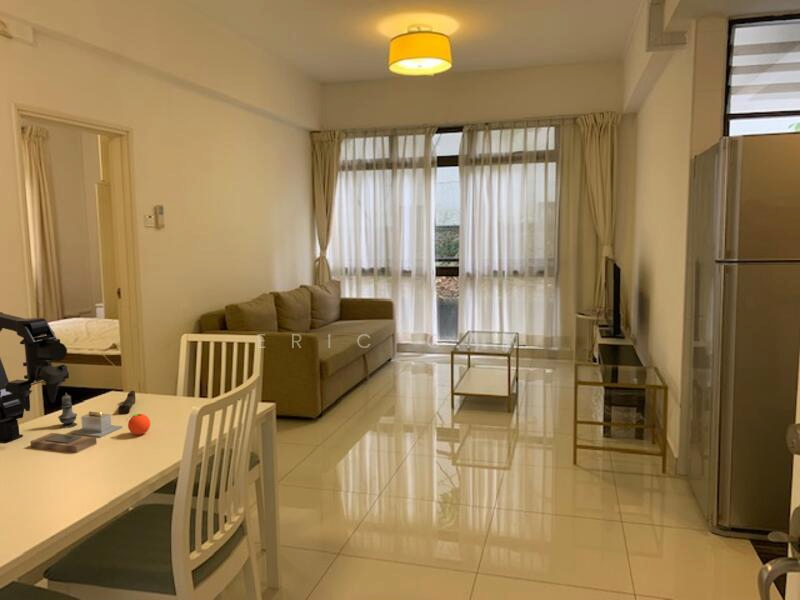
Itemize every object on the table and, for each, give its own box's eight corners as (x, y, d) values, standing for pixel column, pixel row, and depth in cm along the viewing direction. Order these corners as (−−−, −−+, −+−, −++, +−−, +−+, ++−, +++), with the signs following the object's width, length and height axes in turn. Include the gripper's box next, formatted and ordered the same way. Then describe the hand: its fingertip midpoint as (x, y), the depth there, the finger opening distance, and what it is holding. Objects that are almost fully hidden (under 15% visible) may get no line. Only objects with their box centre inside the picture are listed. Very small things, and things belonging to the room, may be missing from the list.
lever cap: (82, 430, 202) (80, 413, 201) (92, 426, 206) (91, 409, 206) (101, 432, 200) (100, 415, 199) (111, 428, 204) (110, 411, 203)
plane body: (30, 447, 188) (30, 440, 188) (51, 438, 196) (51, 431, 196) (77, 452, 184) (76, 445, 183) (96, 443, 191) (96, 436, 191)
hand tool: (130, 414, 221) (129, 402, 221) (118, 415, 221) (117, 403, 220) (141, 400, 240) (140, 389, 239) (130, 400, 239) (130, 389, 239)
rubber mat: (71, 434, 200) (71, 432, 200) (93, 424, 210) (93, 423, 210) (100, 437, 197) (100, 436, 197) (122, 427, 206) (121, 426, 206)
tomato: (121, 438, 196) (120, 417, 196) (130, 430, 203) (129, 410, 202) (146, 437, 197) (145, 417, 196) (154, 430, 204) (153, 410, 203)
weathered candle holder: (70, 428, 206) (67, 395, 204) (54, 428, 206) (52, 394, 205) (81, 423, 211) (79, 390, 210) (66, 422, 212) (64, 389, 211)
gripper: (31, 366, 175) (35, 417, 177) (80, 353, 193) (84, 400, 195) (1, 364, 178) (6, 414, 180) (53, 351, 196) (56, 397, 198)
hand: (40, 406), depth 188 cm, fingers open, 9 cm apart
